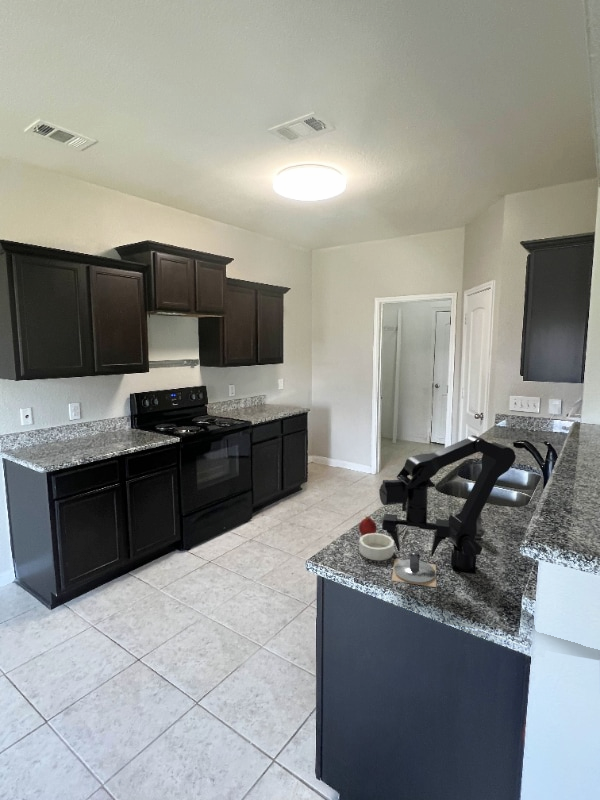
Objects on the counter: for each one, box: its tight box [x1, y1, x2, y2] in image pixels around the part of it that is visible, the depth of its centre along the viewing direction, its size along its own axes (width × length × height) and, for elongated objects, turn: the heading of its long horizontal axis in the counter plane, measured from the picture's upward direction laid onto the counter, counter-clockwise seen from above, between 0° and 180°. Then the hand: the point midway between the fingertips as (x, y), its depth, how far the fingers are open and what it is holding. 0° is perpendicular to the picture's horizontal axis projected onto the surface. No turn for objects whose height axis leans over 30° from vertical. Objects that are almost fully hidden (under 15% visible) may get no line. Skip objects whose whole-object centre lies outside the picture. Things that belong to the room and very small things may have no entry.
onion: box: [358, 516, 377, 536], centre depth 145 cm, size 6×6×8 cm
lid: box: [393, 550, 435, 584], centre depth 124 cm, size 12×12×6 cm
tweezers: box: [390, 527, 409, 544], centre depth 150 cm, size 18×5×2 cm, turn 148°
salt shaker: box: [475, 513, 486, 544], centre depth 143 cm, size 6×6×12 cm
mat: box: [391, 558, 437, 588], centre depth 124 cm, size 12×12×1 cm
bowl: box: [358, 532, 395, 561], centre depth 136 cm, size 11×11×4 cm
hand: (415, 552), depth 123 cm, fingers open, 9 cm apart
